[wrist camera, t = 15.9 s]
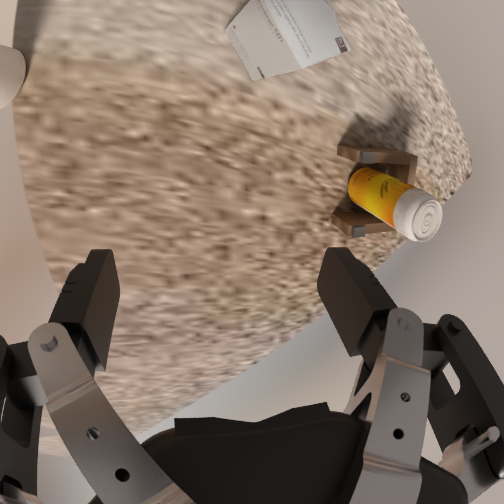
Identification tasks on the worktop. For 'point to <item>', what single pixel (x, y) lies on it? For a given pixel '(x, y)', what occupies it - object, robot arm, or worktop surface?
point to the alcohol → (10, 74)
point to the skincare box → (285, 35)
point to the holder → (399, 168)
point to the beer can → (396, 203)
